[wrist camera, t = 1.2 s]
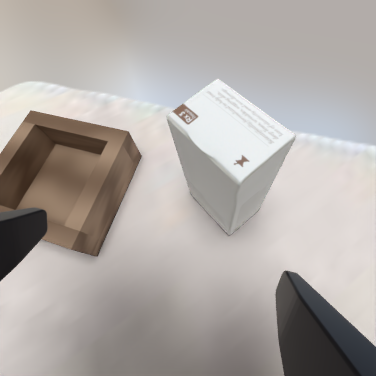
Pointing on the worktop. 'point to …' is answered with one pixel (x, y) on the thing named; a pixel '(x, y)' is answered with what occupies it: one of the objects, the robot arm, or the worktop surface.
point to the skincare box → (228, 152)
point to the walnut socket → (68, 176)
